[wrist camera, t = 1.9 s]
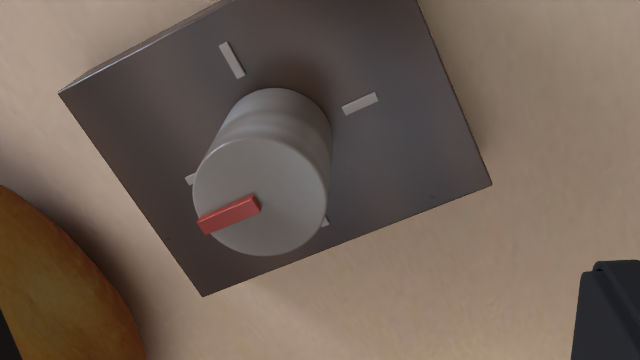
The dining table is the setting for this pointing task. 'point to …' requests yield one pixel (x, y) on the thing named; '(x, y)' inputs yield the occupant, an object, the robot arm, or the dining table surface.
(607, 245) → the dining table surface
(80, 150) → the dining table surface
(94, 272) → the bread
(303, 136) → the knob
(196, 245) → the dial panel
